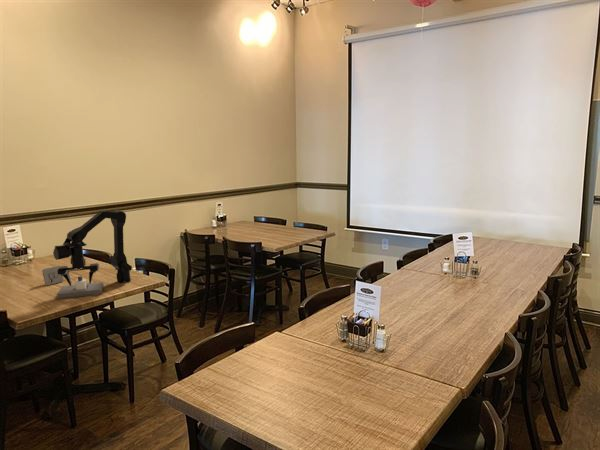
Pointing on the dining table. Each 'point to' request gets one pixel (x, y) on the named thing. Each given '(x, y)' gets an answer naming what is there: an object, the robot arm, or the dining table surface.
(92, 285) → the socket plate
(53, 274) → the electrical switch
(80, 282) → the plug
